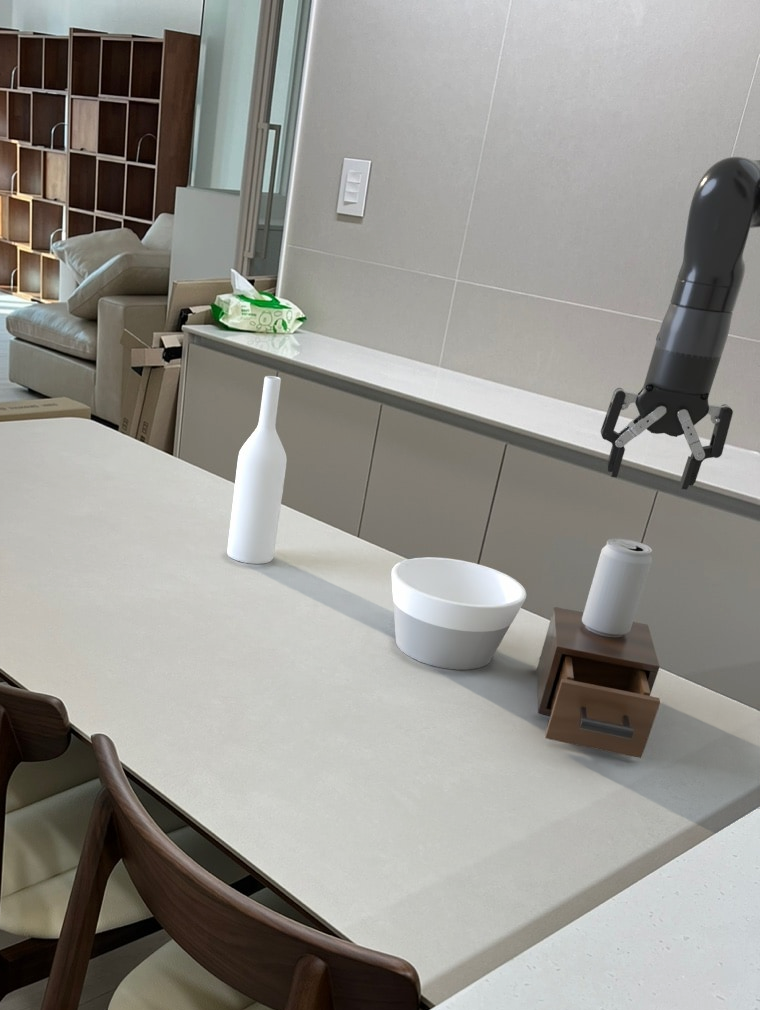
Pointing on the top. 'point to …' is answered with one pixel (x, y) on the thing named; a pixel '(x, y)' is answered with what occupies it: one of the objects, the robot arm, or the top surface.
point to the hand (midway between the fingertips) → (648, 481)
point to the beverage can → (617, 587)
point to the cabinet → (590, 650)
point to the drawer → (601, 706)
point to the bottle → (259, 486)
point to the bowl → (452, 611)
